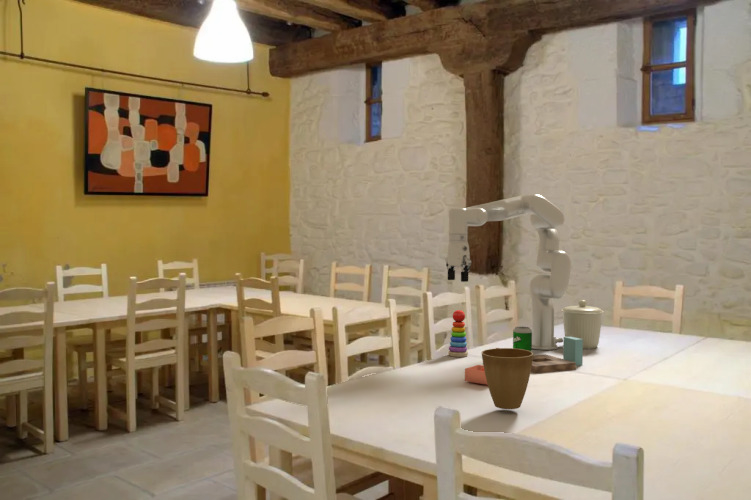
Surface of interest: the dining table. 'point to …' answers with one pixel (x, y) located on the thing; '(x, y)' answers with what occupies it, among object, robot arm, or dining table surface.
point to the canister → (583, 323)
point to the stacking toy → (458, 336)
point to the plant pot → (507, 375)
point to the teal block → (573, 350)
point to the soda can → (522, 338)
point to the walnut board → (550, 364)
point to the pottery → (476, 374)
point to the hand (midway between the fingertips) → (457, 280)
